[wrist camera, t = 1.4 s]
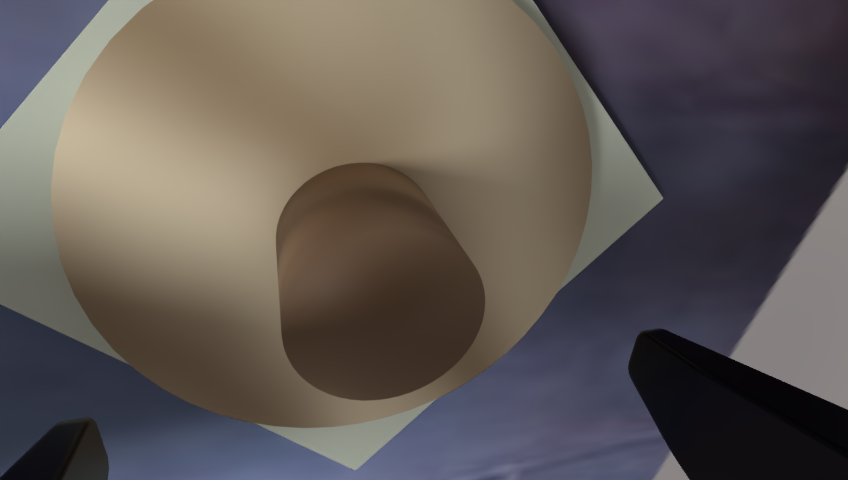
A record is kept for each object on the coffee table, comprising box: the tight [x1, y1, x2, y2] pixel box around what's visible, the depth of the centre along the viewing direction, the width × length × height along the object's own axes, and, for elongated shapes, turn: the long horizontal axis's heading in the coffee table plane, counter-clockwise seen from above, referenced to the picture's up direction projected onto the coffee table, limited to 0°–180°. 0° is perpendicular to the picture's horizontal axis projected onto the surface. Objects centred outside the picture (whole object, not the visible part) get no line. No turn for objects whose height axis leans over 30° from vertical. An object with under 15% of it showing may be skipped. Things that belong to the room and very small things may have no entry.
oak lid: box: [51, 0, 592, 428], centre depth 12 cm, size 13×13×4 cm
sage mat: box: [0, 0, 663, 471], centre depth 14 cm, size 14×14×1 cm
